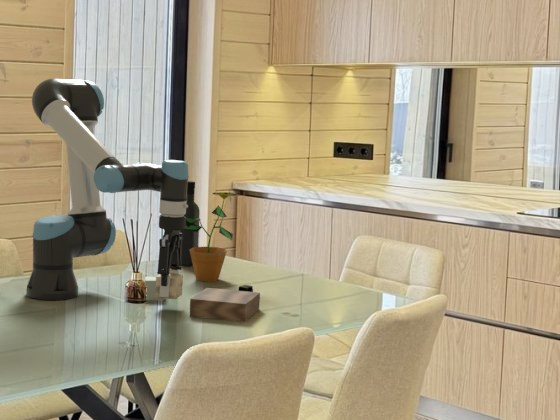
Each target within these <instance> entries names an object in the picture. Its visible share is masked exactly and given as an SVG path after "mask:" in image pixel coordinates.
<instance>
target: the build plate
mask: <svg viewBox="0 0 560 420" xmlns="http://www.w3.org/2000/svg"><path fill="white" fill-rule="evenodd" d="M237 291H247V292H254V287H253V285H248V284H243V285H240V286H238V289H237Z"/></svg>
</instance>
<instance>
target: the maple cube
mask: <svg viewBox="0 0 560 420" xmlns="http://www.w3.org/2000/svg"><path fill="white" fill-rule="evenodd" d="M169 275H170V293H169V298H167V297H159V295H160V276H161V274H157V275H156V276H155V277H156V292H155V297H159V298H165V299H170V300H176V299H178V298H180V297H181V296H182V295H183V283H184V281H183V278H184V274H181V273H178V274H173V273H169Z"/></svg>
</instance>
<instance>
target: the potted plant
mask: <svg viewBox="0 0 560 420" xmlns="http://www.w3.org/2000/svg"><path fill="white" fill-rule="evenodd" d="M212 195H216V196H219V197H220V198H222V199H223V201H222V205H221V206H220V205H217V206H216V208H214V209H213V211H212V212H211V214H213V215H215V216H217V219H216V220H215V222H214V224H213V226H212V229H211V231H210V233H208V231H207V230H206V229H205V228H204V226H203V225H202V222H201V219H200V217H199V219H191V218H186V222H187V224H186V225H185V229H188V230H192V231H195V232H198V231H199V232H200V230H201V229H203V231H204V232H205V233H206V236H208V243H207V246H198V247H193V248H191V249H189V250H190V255H191V259H192V263H193V266H192V267H193V271H194V276H195V280H197V281H199V282H216V281H219V279H220V275H221V272H222V268H223V265H224V261H225V258H226V254H227V249H226V248H221V247H218V246H210V245H211V238H212V235H213V232H214V229H217V228H218V230H219V234H221V235H222V236H224V237H226V238H227V239H228V240H230V241H233V233H232V232H230V231H229V230H228V229H226V228H224V227H223V226H222V223H223V219H224V218H226V217H228V216H227V215H226V213H225V211H223V207H224V203H225V200H226V199H228V197H230V196H232V197H235V196H237V193H232V192H213V193H212ZM220 217H221V221H220V225H218V226H216V225H217V222H218V221H219V219H220ZM197 220H199V226H198V225H195V224H193V223H195V222H196V221H197Z"/></svg>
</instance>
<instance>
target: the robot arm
mask: <svg viewBox="0 0 560 420" xmlns="http://www.w3.org/2000/svg"><path fill="white" fill-rule="evenodd" d="M31 106H32V109H33V111H34V114H35V116H36V117H37V118H38V119H39V120H40V122H41V123H42V124H43V125H44V126H46V127H48V128H51V129H52V130H53V131H54V132H55V133H56V134H57V136H59V137H60V138H61V139H62V141H63V142H64V143H66V154H67V164H68V166H67V167H68V177H69V186H70V189H69V190H70V197H71V200H70V201H71V208H70V210H69V212H67V214H57V215H49V216H43V217H41V218H39V219H37V220H36V221H34V224H33V231H32V271H31V274H30V276H29V280H28V282H27V286H26V289H25V291H26V295H25V296H27V298H31V299H33V300H34V299H35V300H43V301H61V300H62V301H63V300H69V299H74V298H77V297H78V296H79V286H78V282H77V279H76V275H75V273H74V258H81V257H82V258H83V257H87V256H88V257H89V256H98V255H100V254H104V253H106V252H108V251H109V250H111V248H112V246H114V243H115V241H116V237H117V236H116V235H117V230H116V224H115V222H114V221H113V219H111V217H109V216H107V210H106V209H105V208H104V207H103V206H102V205H101V198H100V197H101V196H100V192H101V193H109V194H116V193H124V192H137V191H154V192H159V193H160V196H159V198H160V199H159V211H158V213H159V214H160V215H159V216H158V227H159V229H161V230H164V231H163V235H162V238H159V241H158V242H159V243H158V244H159V252H158V265H157V272H156V273H157V275H160V274H161V276H160V295H159V297H167V298H166V299H168V298H169V293H170V275H169V273H173V274H179V271H181V270H182V268H183V267H182V265H181V257H182V238H183V233H180V230H183V229H185V223H186V217H185V216H184V215H185V214H186V208H187V207H188V205H187V204H186V202H187V201H186V200H187V186H188V181H189V177H190V176H189V164H188V162H186V161H185V160H176V159H165V160H162V163H161V164H160V165H158V164H153V163H149V162H146V161H145V162H141V161H139V162H134V163H133V164H123V163H121V162H120V160H118V159H117V158H116V156H115V155H114V154H112V153H111V151H110V150H109V149H108V148H107V147H106V146H105V145H104V144H103V143H102V142H101V140H99V139H98V137H97V136H96V135H95V133H94V132H95V131H94V128H95V126H96V125H97V124H98V121H99V120H98V117H100V116H101V114H102V113H103V110H104V108H105V99H104V94H103V92H102V90H101V89H100V86H98V85H97V84H96V83H95V82H94V81H90V80H84V79H72V78H71V79H69V78H68V79H66V78H64V79H63V78H47V79H46V80H43V81H41V82H40V83H39V84H38V85H37V86H36V87H35V89H34V91H33V93H32V95H31Z"/></svg>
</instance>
